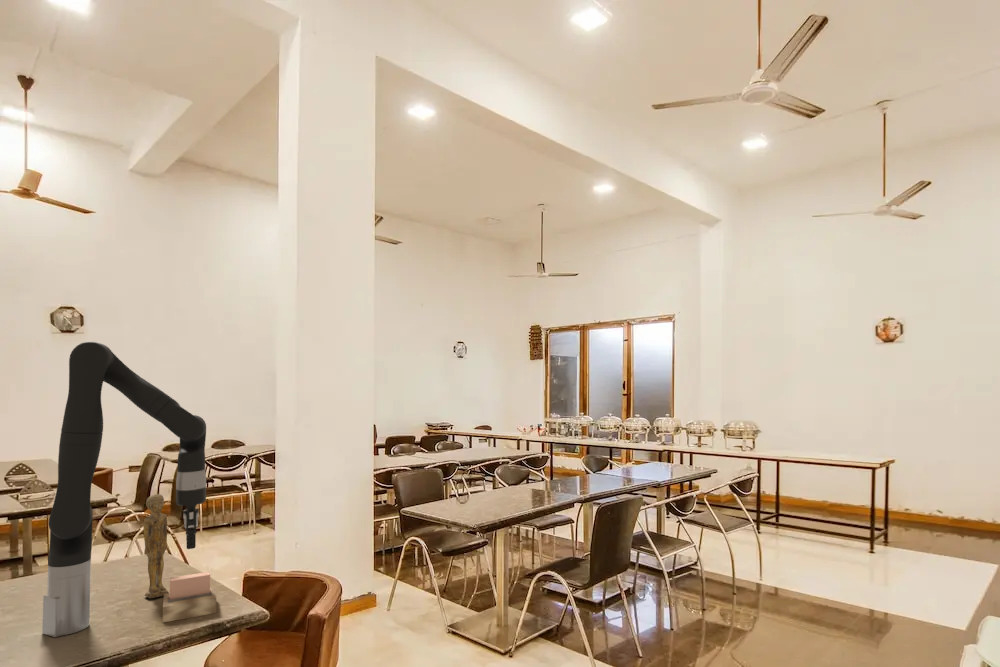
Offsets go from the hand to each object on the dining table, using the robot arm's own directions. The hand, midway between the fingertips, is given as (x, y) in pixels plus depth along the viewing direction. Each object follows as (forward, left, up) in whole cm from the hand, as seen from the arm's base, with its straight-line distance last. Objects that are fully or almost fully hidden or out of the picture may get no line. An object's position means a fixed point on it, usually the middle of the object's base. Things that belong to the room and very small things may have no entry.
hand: (190, 544), depth 171 cm
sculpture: (+3, +20, -18) cm, 27 cm away
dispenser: (0, 0, -18) cm, 18 cm away
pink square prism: (0, 0, -18) cm, 18 cm away
